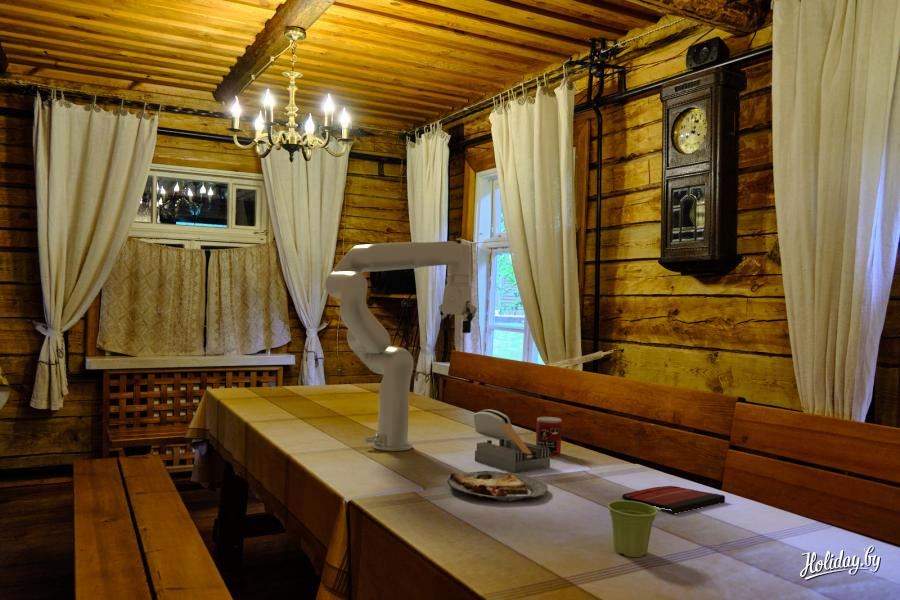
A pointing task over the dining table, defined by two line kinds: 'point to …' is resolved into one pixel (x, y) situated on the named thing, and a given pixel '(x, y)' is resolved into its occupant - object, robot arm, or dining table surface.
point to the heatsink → (512, 456)
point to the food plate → (497, 485)
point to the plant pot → (631, 526)
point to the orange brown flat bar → (515, 438)
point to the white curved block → (491, 423)
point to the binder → (674, 498)
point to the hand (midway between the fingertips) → (456, 332)
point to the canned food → (549, 434)
